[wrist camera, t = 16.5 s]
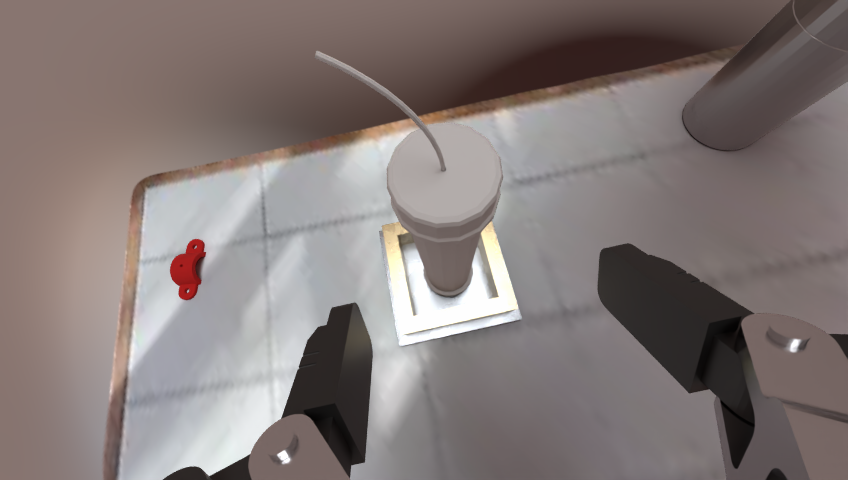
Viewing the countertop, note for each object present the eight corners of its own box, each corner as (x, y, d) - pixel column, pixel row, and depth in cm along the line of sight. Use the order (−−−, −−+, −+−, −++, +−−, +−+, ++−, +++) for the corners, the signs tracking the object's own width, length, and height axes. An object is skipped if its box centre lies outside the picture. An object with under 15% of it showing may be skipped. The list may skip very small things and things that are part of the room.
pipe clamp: (189, 241, 42) (176, 236, 40) (209, 239, 42) (197, 234, 40) (178, 300, 40) (164, 298, 38) (200, 299, 40) (186, 297, 37)
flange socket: (486, 209, 40) (492, 192, 35) (520, 319, 36) (531, 316, 31) (380, 233, 40) (371, 219, 35) (400, 346, 36) (393, 347, 31)
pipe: (469, 301, 36) (544, 155, 7) (415, 294, 36) (286, 136, 8) (473, 255, 37) (549, -18, 9) (422, 249, 38) (334, -20, 9)
